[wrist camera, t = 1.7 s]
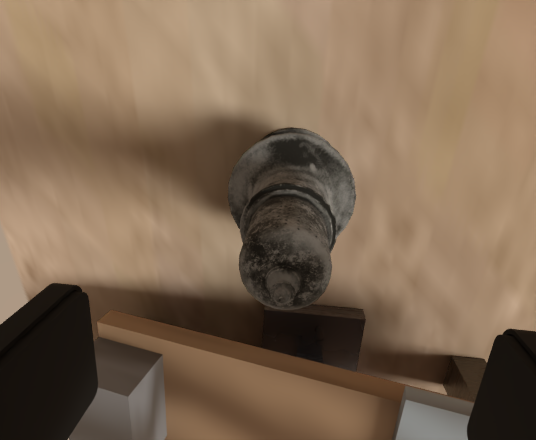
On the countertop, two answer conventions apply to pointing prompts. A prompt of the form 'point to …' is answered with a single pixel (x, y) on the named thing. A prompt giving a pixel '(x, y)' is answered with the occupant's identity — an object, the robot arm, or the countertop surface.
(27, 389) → the robot arm
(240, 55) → the countertop surface
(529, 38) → the countertop surface
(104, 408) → the beam
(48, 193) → the countertop surface
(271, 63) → the countertop surface
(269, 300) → the chess piece
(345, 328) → the beam stand
